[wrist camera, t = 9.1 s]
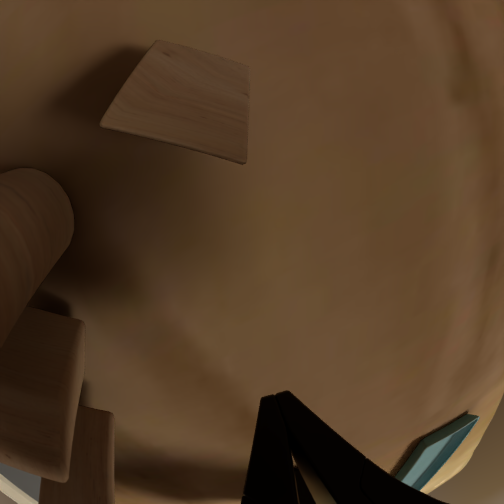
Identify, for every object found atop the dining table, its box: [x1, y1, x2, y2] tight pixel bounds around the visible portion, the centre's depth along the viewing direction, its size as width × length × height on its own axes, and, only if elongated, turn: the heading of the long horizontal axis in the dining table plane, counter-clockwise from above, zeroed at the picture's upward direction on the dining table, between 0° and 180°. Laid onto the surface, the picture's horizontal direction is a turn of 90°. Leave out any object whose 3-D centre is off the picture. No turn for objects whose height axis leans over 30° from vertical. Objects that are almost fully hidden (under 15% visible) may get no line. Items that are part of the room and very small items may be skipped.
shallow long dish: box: [395, 414, 480, 491], centre depth 28 cm, size 26×9×2 cm, turn 2°
